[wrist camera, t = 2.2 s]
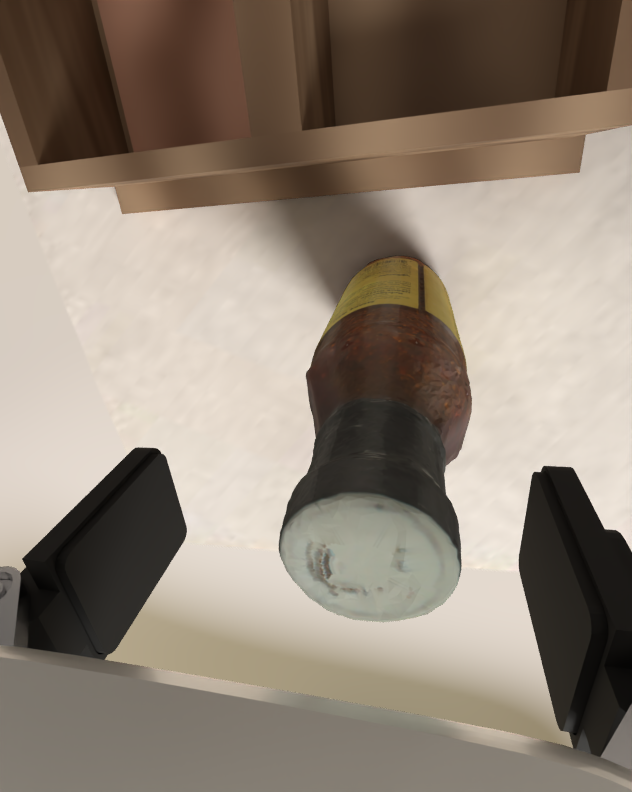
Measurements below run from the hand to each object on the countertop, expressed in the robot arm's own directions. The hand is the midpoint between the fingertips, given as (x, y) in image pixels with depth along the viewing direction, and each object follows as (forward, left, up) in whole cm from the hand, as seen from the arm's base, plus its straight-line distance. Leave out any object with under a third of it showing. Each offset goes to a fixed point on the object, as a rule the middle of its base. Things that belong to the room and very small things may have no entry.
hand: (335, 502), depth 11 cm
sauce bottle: (-1, 0, -18) cm, 18 cm away
